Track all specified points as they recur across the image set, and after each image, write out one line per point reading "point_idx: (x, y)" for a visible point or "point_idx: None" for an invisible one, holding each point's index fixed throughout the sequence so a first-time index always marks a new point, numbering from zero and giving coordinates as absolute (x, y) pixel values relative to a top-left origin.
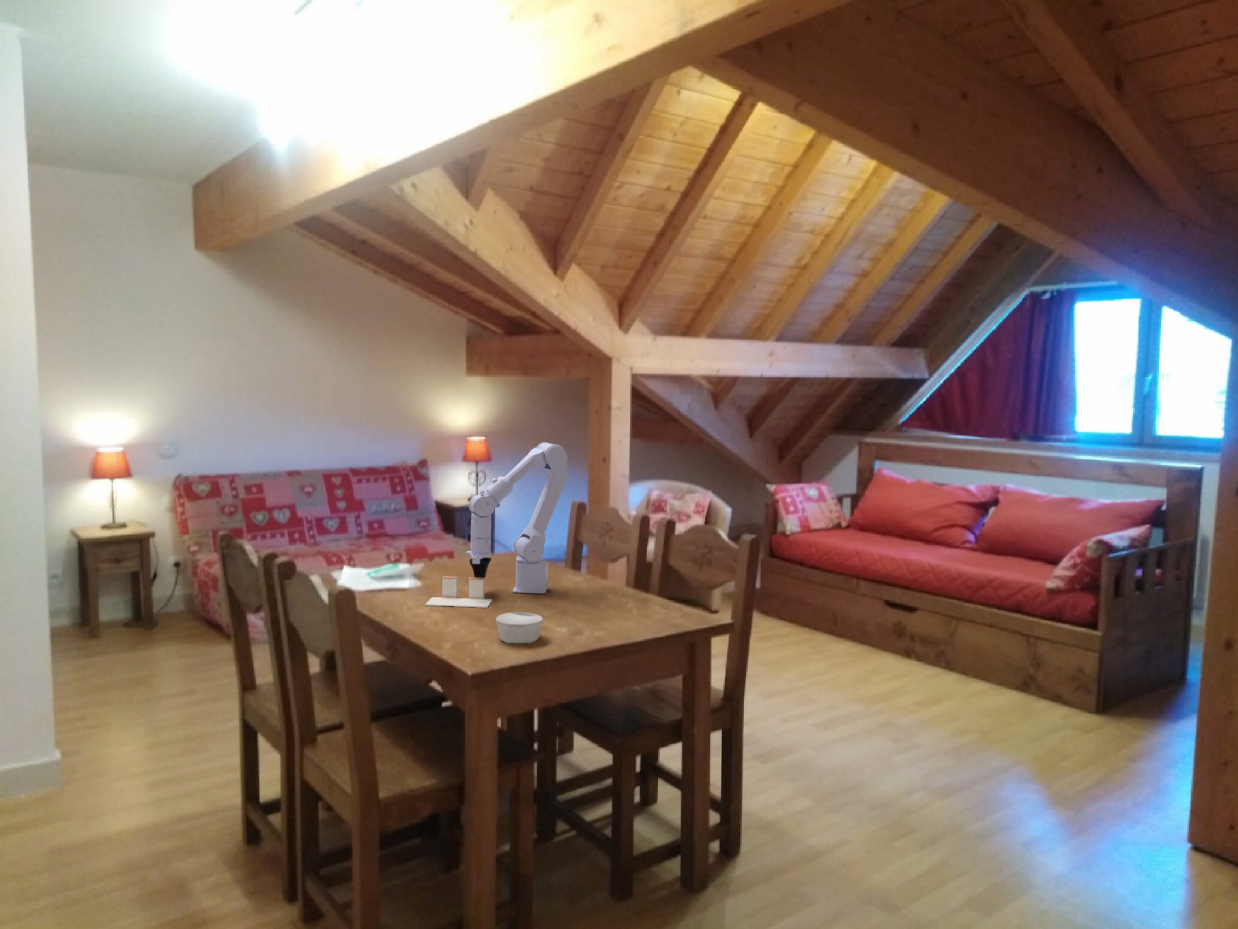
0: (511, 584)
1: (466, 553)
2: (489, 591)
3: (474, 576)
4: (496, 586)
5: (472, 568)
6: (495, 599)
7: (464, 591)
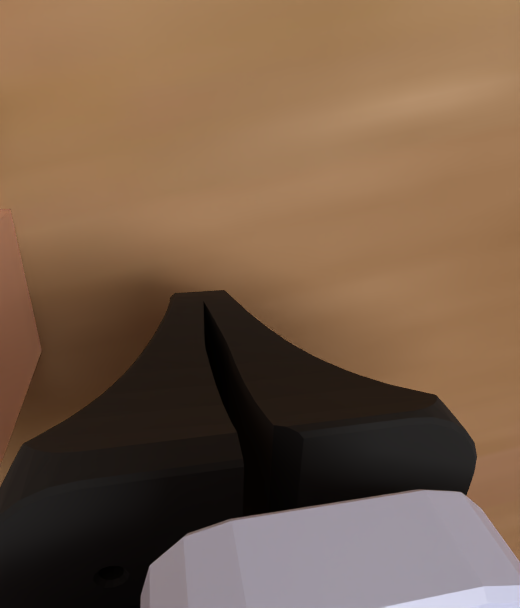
0: (503, 410)
1: (170, 587)
2: (299, 327)
3: (163, 324)
4: (458, 337)
5: (110, 389)
6: (41, 428)
7: (279, 102)
